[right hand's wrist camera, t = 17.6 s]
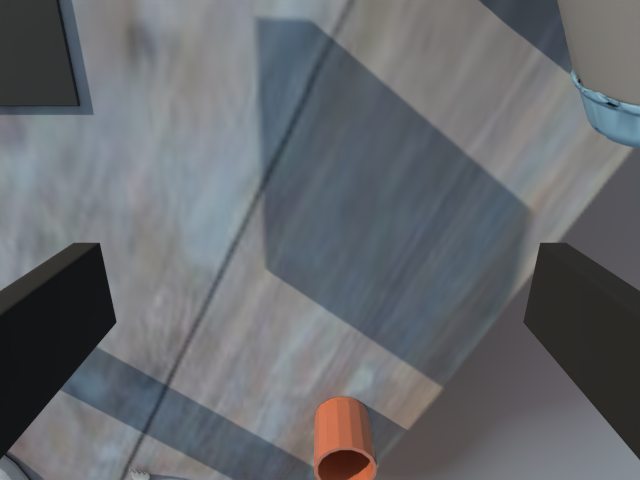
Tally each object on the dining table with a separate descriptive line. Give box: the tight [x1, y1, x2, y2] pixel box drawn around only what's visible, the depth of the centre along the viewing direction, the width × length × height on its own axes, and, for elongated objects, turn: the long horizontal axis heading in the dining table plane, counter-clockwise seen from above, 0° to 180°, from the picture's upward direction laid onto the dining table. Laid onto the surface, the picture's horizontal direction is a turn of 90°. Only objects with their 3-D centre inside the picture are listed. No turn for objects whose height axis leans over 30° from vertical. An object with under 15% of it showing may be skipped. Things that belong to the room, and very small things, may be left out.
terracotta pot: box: [314, 397, 377, 480], centre depth 52 cm, size 7×7×8 cm
